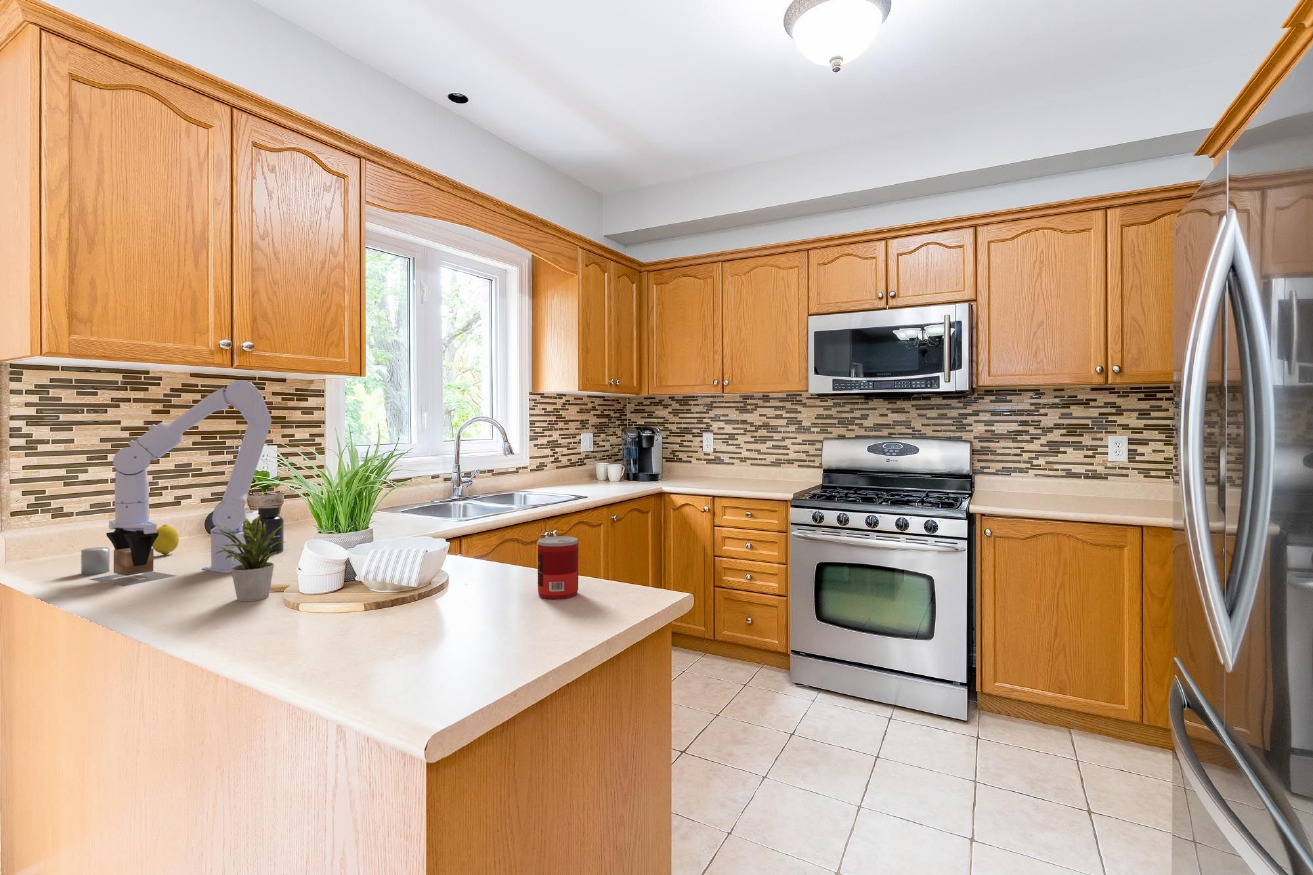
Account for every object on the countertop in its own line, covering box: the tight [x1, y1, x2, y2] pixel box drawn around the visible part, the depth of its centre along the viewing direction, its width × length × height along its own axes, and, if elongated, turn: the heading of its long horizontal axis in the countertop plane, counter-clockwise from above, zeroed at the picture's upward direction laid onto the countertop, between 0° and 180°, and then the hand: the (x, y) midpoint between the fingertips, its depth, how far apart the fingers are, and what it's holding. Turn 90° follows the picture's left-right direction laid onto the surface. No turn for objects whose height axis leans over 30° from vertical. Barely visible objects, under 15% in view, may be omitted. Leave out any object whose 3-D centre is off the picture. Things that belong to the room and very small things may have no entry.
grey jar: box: [80, 546, 111, 576], centre depth 142 cm, size 5×5×6 cm
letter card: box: [88, 570, 177, 587], centre depth 137 cm, size 14×10×1 cm
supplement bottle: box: [255, 505, 285, 555], centre depth 166 cm, size 7×7×12 cm
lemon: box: [152, 524, 180, 556], centre depth 161 cm, size 6×6×8 cm
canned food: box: [537, 535, 579, 600], centre depth 124 cm, size 8×8×11 cm
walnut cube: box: [113, 547, 155, 576], centre depth 137 cm, size 5×5×5 cm
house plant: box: [210, 515, 287, 602], centre depth 122 cm, size 14×14×16 cm
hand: (133, 563), depth 137 cm, fingers closed on walnut cube, 5 cm apart
